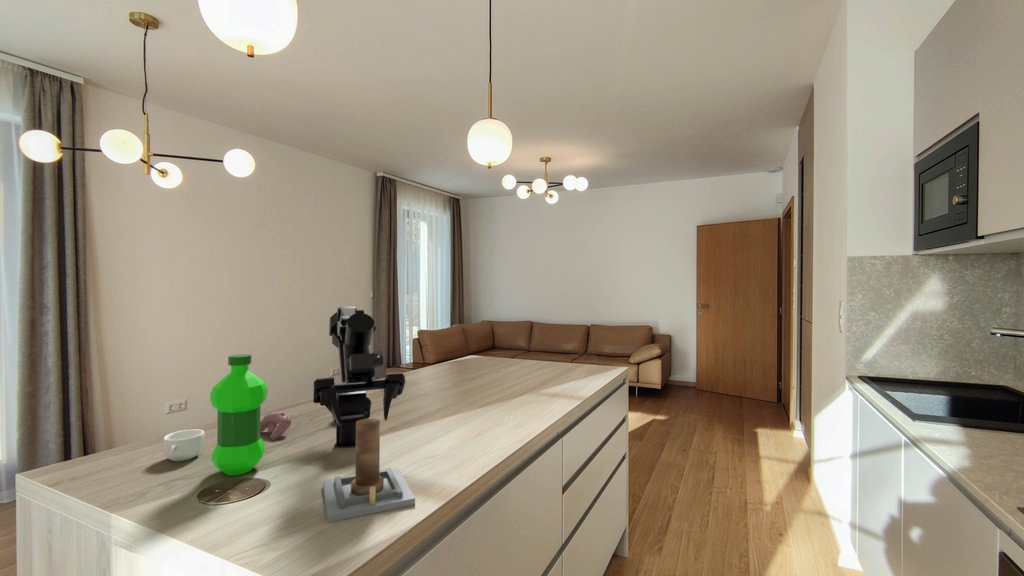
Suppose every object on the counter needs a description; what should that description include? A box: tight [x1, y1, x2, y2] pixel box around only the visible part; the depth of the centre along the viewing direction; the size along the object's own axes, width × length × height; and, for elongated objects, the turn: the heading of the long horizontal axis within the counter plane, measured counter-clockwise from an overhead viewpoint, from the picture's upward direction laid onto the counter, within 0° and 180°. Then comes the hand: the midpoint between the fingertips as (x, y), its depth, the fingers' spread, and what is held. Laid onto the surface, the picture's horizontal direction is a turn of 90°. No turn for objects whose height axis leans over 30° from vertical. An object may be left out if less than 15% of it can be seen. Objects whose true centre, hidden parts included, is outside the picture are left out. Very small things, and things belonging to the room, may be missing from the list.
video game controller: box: [260, 411, 292, 440], centre depth 121 cm, size 10×5×7 cm, turn 58°
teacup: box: [162, 428, 205, 462], centre depth 103 cm, size 10×8×5 cm
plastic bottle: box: [210, 353, 268, 476], centre depth 97 cm, size 10×10×25 cm
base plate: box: [322, 467, 416, 523], centre depth 86 cm, size 15×15×4 cm
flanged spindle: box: [351, 417, 384, 496], centre depth 86 cm, size 6×6×13 cm
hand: (363, 422), depth 92 cm, fingers open, 9 cm apart
